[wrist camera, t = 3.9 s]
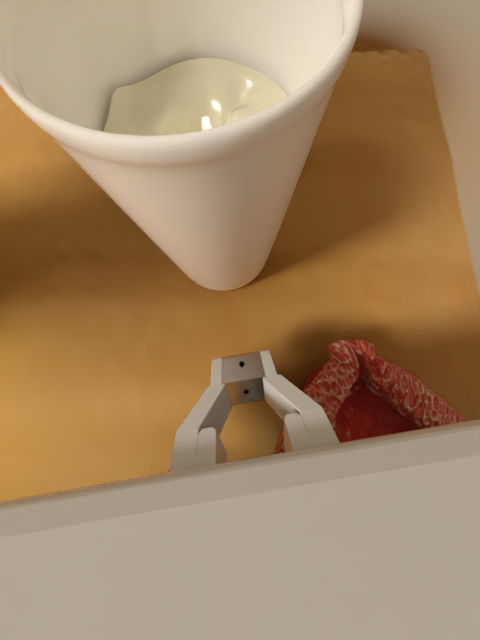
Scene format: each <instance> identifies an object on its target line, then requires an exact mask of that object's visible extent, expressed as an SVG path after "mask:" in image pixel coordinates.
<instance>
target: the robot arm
mask: <svg viewBox="0 0 480 640" xmlns="http://www.w3.org/2000/svg"><path fill="white" fill-rule="evenodd" d="M260 400H265V401H266V402H267V403H268V404H269V405H270V407H271V408H272V409H273V410H274V411H275V412H276V413H277V415H278V416H279V417H280V418H281V419H282V420H283V421H284V446H285V450H286V452H284V453H279V454H273V455H267V456H261V457H255V458H250V459H244V460H238V461H232V462H227V452H226V450H225V448H224V446H223V444H222V442H221V440H220V438H219V435H220V433H221V431H222V429H223V426H224V424H225V422H226V420H227V417H228V415H229V413H230V411H231V408H232V405H237V404H241V403H246V402H253V401H260ZM0 640H480V419H476V420H470V421H465V422H459V423H453V424H447V425H441V426H436V427H430V428H424V429H418V430H412V431H407V432H401V433H395V434H389V435H383V436H377V437H372V438H366V439H360V440H354V441H348V442H343V443H340V442H339V440H338V438H337V436H336V434H335V432H334V430H333V428H332V426H331V424H330V422H329V420H328V418H327V416H326V414H325V412H324V410H323V408H322V407H321V406H320V405H319V404H317V403H316V402H315V401H314V400H312V399H311V398H310V397H309V396H307V395H306V394H305V393H303V392H302V391H301V390H300V389H298V388H297V387H296V386H295V385H293V384H292V383H291V382H289V381H288V380H287V379H286V378H284V377H283V376H282V375H281V374H280V375H277V372H276V369H275V366H274V363H273V360H272V357H271V354H270V351H269V350H263V351H257V352H251V353H246V354H241V355H235V356H228V357H222V358H216V359H212V366H211V386H210V387H207V389H206V390H205V392H204V393H203V394H202V396H201V397H200V399H199V400H198V402H197V403H196V405H195V406H194V407H193V409H192V410H191V412H190V413H189V415H188V416H187V418H186V419H185V420H184V422H183V423H182V425H181V426H180V428H179V429H178V431H177V432H176V437H175V442H174V448H173V453H172V458H171V464H170V469H169V472H168V473H162V474H157V475H151V476H145V477H139V478H133V479H128V480H122V481H116V482H110V483H104V484H99V485H93V486H87V487H81V488H75V489H70V490H64V491H58V492H52V493H46V494H41V495H35V496H29V497H23V498H17V499H12V500H6V501H0Z"/></svg>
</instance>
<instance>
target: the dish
mask: <svg viewBox="0 0 480 640" xmlns="http://www.w3.org/2000/svg"><path fill="white" fill-rule="evenodd" d="M326 350H327V351H328V352H329V355H330V358H329V359H328V361H327V362H326V363H325V364H323V365H322V366H320V367H319V368H318V369H316V370H315V371H314V372H312V373H311V375H310V376H309V378H308V379H307V381H306V382H305V384H304V386H303V389H302V392H303V393H305V394H306V395H307V396H309V397H310V398H311V399H312V400H314V401H315V402H316V403H317V404H319V405H320V406H321V407H322V408H323V410H324V412H325V414H326V416H327V418H328V420H329V422H330V424H331V426H332V428H333V430H334V432H335V434H336V436H337V438H338V440H339V442H340V443H343V442H348V441H354V440H360V439H366V438H372V437H377V436H383V435H389V434H395V433H401V432H407V431H412V430H418V429H424V428H430V427H436V426H441V425H447V424H453V423H459V422H465V421H467V420H466V419H465V418H464V417H463V416H462V415H461V414H460V413H458V412H457V411H456V410H455V409H454V408H453V407H451V406H450V405H449V404H448V403H447V402H446V401H444V400H443V399H442V398H441V397H439V396H438V395H437V394H435V393H434V392H433V391H431V390H430V389H429V388H427V387H426V386H425V385H424V384H423V383H422V382H421V381H420V380H419V379H418V378H417V377H416V376H414V375H413V374H412V373H411V372H409V371H408V370H407V369H405V368H404V367H401V366H399V365H397V364H394V363H392V362H390V361H387V360H385V359H383V358H381V357H378V356H376V353H375V349H374V345H373V344H372V343H370V342H368V341H365V340H361V339H355V338H352V339H349V340H348V341H346V340H344V339H338V340H336V341H334V342H332V343H331V344H329V345H328V347H327V348H326ZM284 452H286V450H285V446H284V426H283V428H282V431H281V434H280V437H279V439H278V442H277V445H276V448H275V451H274V454H279V453H284Z"/></svg>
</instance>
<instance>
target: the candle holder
mask: <svg viewBox="0 0 480 640" xmlns="http://www.w3.org/2000/svg"><path fill="white" fill-rule="evenodd" d="M363 2H364V0H0V85H1V87H2V88H3V90H4V91H5V92H6V94H7V95H8V96H9V97H10V99H11V100H12V101H13V102H14V103H15V104H16V105H17V106H18V108H19V109H20V110H21V111H22V112H23V113H24V114H25V115H26V116H27V117H28V118H30V119H31V120H32V121H33V122H34V123H35V124H36V125H37V126H39V127H40V128H41V129H42V130H44V131H45V132H46V133H47V134H48V135H49V136H50V137H51V138H52V139H53V140H54V141H55V142H56V143H57V144H58V145H59V146H60V147H61V148H62V149H63V150H64V151H65V152H66V153H67V154H68V155H69V156H70V157H71V158H72V159H73V160H74V161H75V162H76V163H77V164H78V165H79V166H80V167H81V168H82V169H83V170H84V171H85V172H86V173H87V174H88V175H89V176H90V177H91V178H92V179H93V180H94V181H95V182H96V183H97V184H98V185H99V186H100V187H101V188H102V189H103V190H104V192H105V193H106V194H107V195H108V196H109V197H110V198H111V199H112V200H113V201H114V202H115V203H116V204H117V205H118V206H119V207H120V208H121V209H122V210H123V211H124V212H125V213H126V214H127V215H128V216H129V217H130V218H131V219H132V220H133V221H134V222H135V223H136V224H137V226H138V227H139V228H140V229H141V230H142V231H143V232H144V233H145V234H146V235H147V236H148V237H149V238H150V239H151V240H152V241H153V242H154V243H155V244H156V245H157V246H158V247H159V248H160V249H161V250H162V251H163V252H164V253H165V254H166V255H167V256H168V257H169V258H170V259H171V260H172V262H173V263H174V264H175V265H176V266H177V267H178V268H179V269H180V270H181V271H182V272H183V273H184V274H185V275H186V276H188V277H189V278H190V279H191V280H192V281H193V282H195V283H196V284H198V285H200V286H202V287H204V288H207V289H210V290H215V291H230V290H234V289H238V288H240V287H243V286H245V285H246V284H248V283H250V282H251V281H252V280H254V279H255V278H256V277H257V276H258V274H259V273H260V272H261V271H262V269H263V267H264V266H265V264H266V262H267V259H268V257H269V255H270V252H271V250H272V247H273V244H274V242H275V239H276V237H277V234H278V232H279V229H280V226H281V224H282V221H283V219H284V216H285V214H286V211H287V208H288V206H289V203H290V201H291V198H292V195H293V193H294V190H295V188H296V185H297V183H298V180H299V177H300V175H301V172H302V170H303V167H304V164H305V162H306V159H307V157H308V154H309V151H310V149H311V146H312V144H313V141H314V139H315V136H316V133H317V131H318V128H319V126H320V123H321V121H322V118H323V115H324V113H325V110H326V108H327V105H328V103H329V100H330V98H331V95H332V93H333V90H334V88H335V85H336V83H337V81H338V78H339V76H340V75H341V73H342V71H343V69H344V67H345V65H346V63H347V61H348V59H349V56H350V54H351V51H352V49H353V46H354V44H355V40H356V38H357V34H358V31H359V27H360V23H361V18H362V12H363Z"/></svg>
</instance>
